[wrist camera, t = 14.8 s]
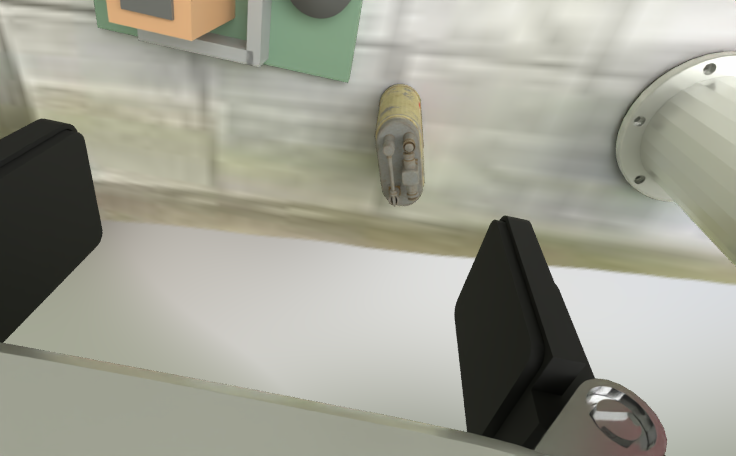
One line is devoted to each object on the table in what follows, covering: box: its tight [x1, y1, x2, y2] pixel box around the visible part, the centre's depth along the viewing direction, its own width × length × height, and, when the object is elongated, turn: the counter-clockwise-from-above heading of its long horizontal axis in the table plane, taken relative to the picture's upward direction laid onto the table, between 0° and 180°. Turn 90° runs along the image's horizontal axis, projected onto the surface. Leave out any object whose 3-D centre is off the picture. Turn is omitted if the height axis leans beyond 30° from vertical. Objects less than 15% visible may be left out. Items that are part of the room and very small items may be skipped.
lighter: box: [375, 84, 425, 206], centre depth 34 cm, size 7×4×10 cm, turn 7°
